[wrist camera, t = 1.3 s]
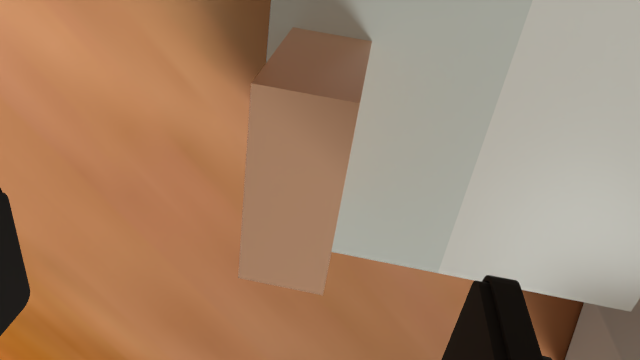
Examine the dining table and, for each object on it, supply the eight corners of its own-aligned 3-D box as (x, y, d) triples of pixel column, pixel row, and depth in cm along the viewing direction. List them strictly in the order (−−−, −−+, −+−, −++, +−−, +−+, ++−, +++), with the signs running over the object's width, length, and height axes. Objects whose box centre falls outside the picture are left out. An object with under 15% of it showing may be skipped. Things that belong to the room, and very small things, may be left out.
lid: (768, 8, 15) (1004, 94, 9) (610, 273, 21) (693, 433, 15) (291, -72, 16) (222, -40, 10) (264, 205, 22) (211, 331, 16)
